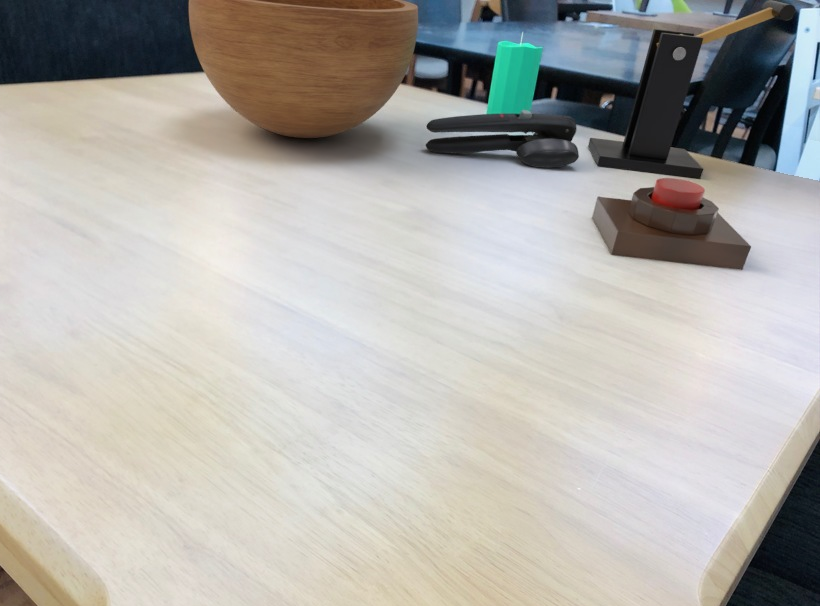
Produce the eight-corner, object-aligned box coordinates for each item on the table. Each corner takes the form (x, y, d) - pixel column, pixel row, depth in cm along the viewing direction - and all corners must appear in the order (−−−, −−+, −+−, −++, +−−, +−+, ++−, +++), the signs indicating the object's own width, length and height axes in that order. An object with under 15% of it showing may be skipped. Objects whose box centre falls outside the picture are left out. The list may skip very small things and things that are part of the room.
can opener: (566, 156, 86) (576, 109, 84) (578, 173, 80) (590, 123, 78) (421, 142, 86) (427, 95, 83) (423, 158, 80) (430, 108, 77)
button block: (707, 231, 67) (721, 191, 65) (742, 270, 59) (759, 226, 57) (591, 218, 68) (602, 177, 66) (611, 255, 60) (623, 210, 58)
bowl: (421, 127, 93) (437, 1, 85) (376, 180, 72) (392, 19, 64) (244, 100, 97) (244, -22, 90) (152, 143, 76) (142, -12, 68)
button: (690, 199, 63) (696, 180, 62) (704, 215, 60) (711, 195, 59) (645, 194, 63) (651, 175, 63) (657, 209, 60) (663, 189, 59)
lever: (777, 15, 80) (774, -7, 79) (797, 21, 75) (794, -3, 74) (657, 61, 84) (652, 41, 83) (668, 69, 79) (664, 48, 78)
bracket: (682, 158, 91) (720, 34, 83) (700, 178, 83) (745, 44, 76) (587, 146, 92) (617, 23, 84) (597, 166, 84) (631, 31, 77)
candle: (531, 132, 96) (550, 37, 90) (487, 128, 96) (503, 32, 90) (523, 121, 101) (541, 31, 95) (482, 117, 101) (497, 26, 95)
